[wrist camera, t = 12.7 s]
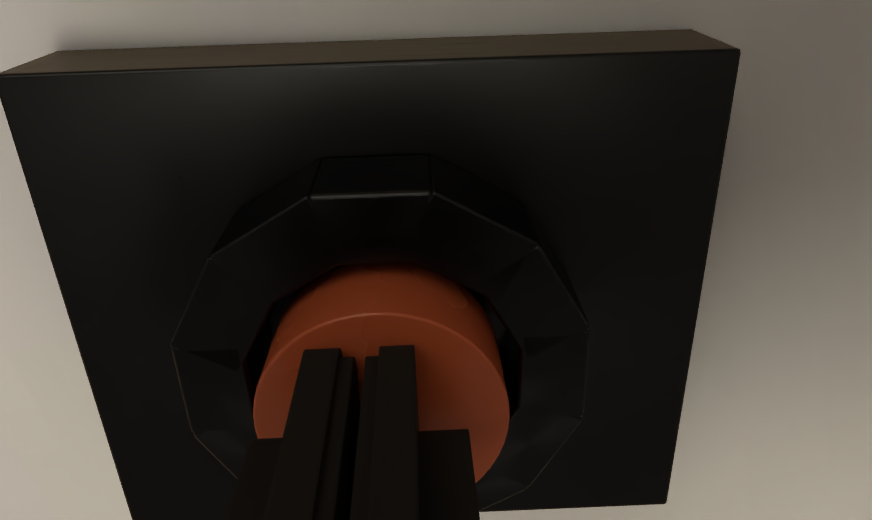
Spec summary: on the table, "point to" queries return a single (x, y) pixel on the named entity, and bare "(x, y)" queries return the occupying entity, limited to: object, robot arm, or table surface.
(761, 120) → the table surface
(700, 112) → the button block
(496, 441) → the button
